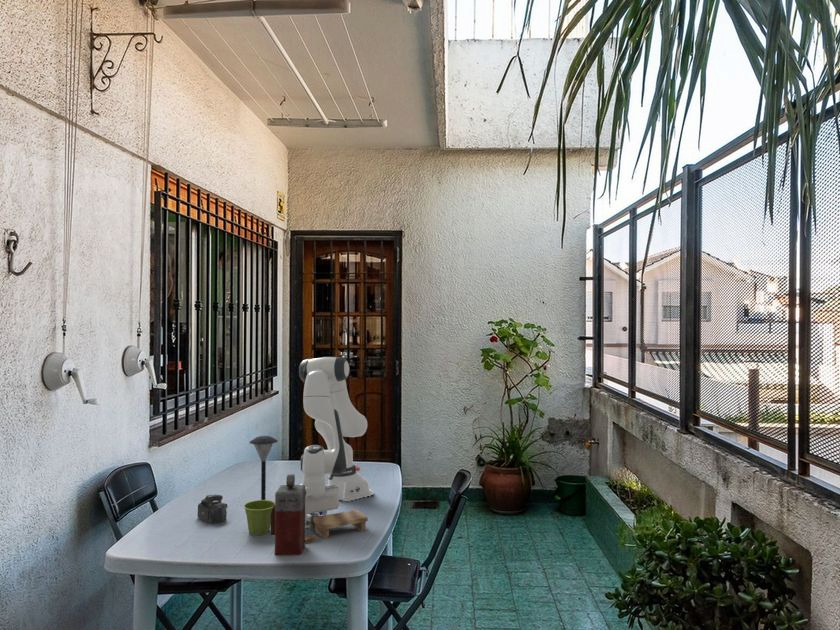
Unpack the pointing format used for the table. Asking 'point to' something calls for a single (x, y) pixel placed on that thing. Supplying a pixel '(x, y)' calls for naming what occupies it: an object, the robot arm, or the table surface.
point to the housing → (311, 520)
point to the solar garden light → (263, 457)
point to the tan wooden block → (311, 538)
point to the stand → (339, 521)
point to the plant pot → (259, 516)
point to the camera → (212, 509)
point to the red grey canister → (289, 518)
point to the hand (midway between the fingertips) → (313, 523)
